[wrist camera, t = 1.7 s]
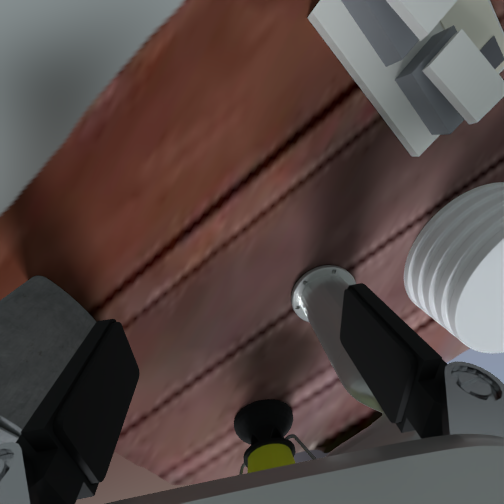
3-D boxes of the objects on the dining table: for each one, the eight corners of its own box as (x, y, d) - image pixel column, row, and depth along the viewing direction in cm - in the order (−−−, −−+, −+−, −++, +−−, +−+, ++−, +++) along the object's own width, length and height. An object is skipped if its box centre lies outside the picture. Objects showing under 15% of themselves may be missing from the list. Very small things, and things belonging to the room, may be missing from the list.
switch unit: (502, 61, 33) (542, 49, 29) (411, 156, 37) (435, 157, 33) (414, -132, 25) (453, -187, 21) (307, 17, 28) (322, -4, 24)
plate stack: (560, 237, 48) (653, 262, 38) (448, 330, 56) (501, 372, 45) (501, 146, 39) (605, 147, 28) (375, 273, 46) (421, 311, 36)
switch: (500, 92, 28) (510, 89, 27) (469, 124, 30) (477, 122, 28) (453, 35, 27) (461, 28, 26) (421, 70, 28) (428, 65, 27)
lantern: (224, 452, 63) (230, 683, 36) (202, 409, 55) (189, 667, 28) (313, 427, 64) (385, 634, 37) (305, 381, 56) (390, 604, 29)
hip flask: (24, 281, 37) (-160, 412, 19) (46, 269, 37) (-118, 392, 19) (96, 346, 44) (11, 488, 26) (115, 337, 43) (43, 474, 25)
